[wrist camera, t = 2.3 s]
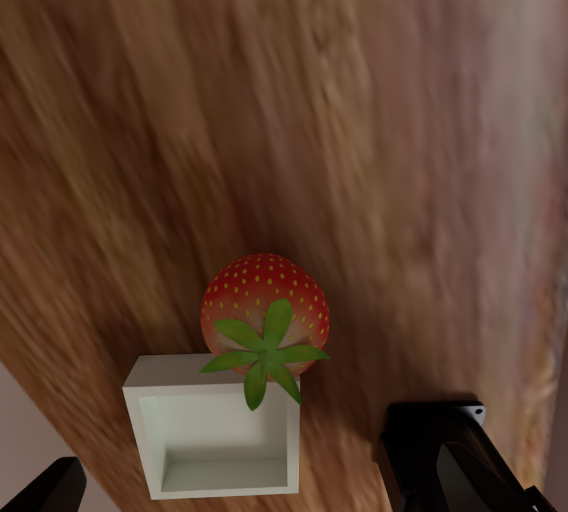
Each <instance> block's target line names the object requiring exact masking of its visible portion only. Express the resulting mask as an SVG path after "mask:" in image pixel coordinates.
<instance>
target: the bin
mask: <svg viewBox="0 0 568 512" xmlns="http://www.w3.org/2000/svg"><path fill="white" fill-rule="evenodd" d="M214 358H216V356H215V355H214V354H213V353H209V354H177V355H145V356H139V358H138V359H137V361H136V363H135V365H134V367H133V369H132V370H131V372H130V374H129V376H128V378H127V380H126V381H125V383H124V385H123V387H122V389H123V393H124V396H125V400H126V404H127V408H128V412H129V415H130V419H131V423H132V427H133V431H134V434H135V438H136V442H137V446H138V450H139V453H140V457H141V461H142V465H143V469H144V472H145V476H146V480H147V484H148V488H149V491H150V495H151V499H152V500H155V499H177V498H199V497H221V496H243V495H265V494H287V493H298V486H299V422H300V405H299V404H298V403H297V402H296V401H295V400H294V399H293V398H292V397H291V396H290V395H289V394H288V393H287V392H286V391H285V390H284V389H283V388H282V387H281V386H280V385H279V384H278V383H277V382H276V381H267V385H266V391H265V395H264V398H263V400H262V402H261V404H260V406H259V407H258V408H257V409H255V410H254V411H251V410H250V409H249V408H248V406H247V404H246V399H245V394H244V379H245V377H246V376H245V375H242V374H240V373H237V372H236V371H234V370H232V369H229V370H224V371H218V372H209V373H199V372H200V371H201V370H202V369H203V368H204V367H205V366H206V365H207V364H208V363H209V362H210V361H211V360H212V359H214ZM294 379H295V381H296V383H297V385H298V388H299V392H300V376H299V375H298V376H297V377H294Z"/></svg>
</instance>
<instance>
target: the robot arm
mask: <svg viewBox="0 0 568 512" xmlns="http://www.w3.org/2000/svg"><path fill="white" fill-rule="evenodd" d="M485 413H486V408H485V406H484V405H483V404H482V402H480V401H463V402H436V403H409V404H393V405H390V406H389V407H388V409H387V413H386V419H385V426H384V432H382V433H381V435H380V439H379V446H378V453H377V462H378V467H379V470H380V473H381V475H382V478H383V481H384V485H385V488H386V491H387V494H388V498H389V501H390V504H391V507H392V510H393V512H557V510H556V509H555V508H554V507H553V506H552V505H551V503H549V501H548V500H547V499H546V498H545V497H544V496H543V494H542V493H541V492H540V491H539V490H538V489H537V488H536V486H535V485H533V486H531V487H529V488H527V489H525V490H524V489H523V487H522V486H521V485H520V483H519V482H518V480H517V479H516V477H515V476H514V474H513V473H512V471H511V470H510V468H509V467H508V465H507V464H506V462H505V461H504V460H503V458H502V457H501V455H500V454H499V452H498V451H497V449H496V448H495V446H494V445H493V443H492V442H491V440H490V439H489V437H488V436H487V434H486V433H485V432H484V430H483V429H482V427H481V426H482V423H483V420H484V416H485ZM86 480H87V479H86V475H85V472H84V470H83V467H82V464H81V461H80V459H79V458H78V457H62V458H59V459H57V460H56V461H55V462H53V463H52V464H51V465H50V466H49V467H48V468H47V469H46V470H45V471H43V472H42V473H41V474H40V475H39V476H38V477H36V478H35V479H34V480H33V481H32V482H31V483H30V484H29V485H27V486H26V487H25V488H24V489H23V490H22V491H21V492H19V493H18V494H17V495H16V496H15V497H14V498H13V499H12V500H10V501H9V502H8V503H7V504H6V505H5V506H4V507H3V508H1V509H0V512H78V509H79V506H80V503H81V500H82V497H83V494H84V492H85V488H86V483H87V481H86ZM525 491H526V492H525Z"/></svg>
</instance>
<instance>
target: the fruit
mask: <svg viewBox="0 0 568 512" xmlns="http://www.w3.org/2000/svg"><path fill="white" fill-rule="evenodd" d="M200 321H201V330H202V333H203V337H204V339H205V342H206V345H207V346H208V348H209V349H210V351H211V352H212V353H213V354H214V355H215V356H216V358H214V359H212V360H211V361H210V362H209V363H208V364H207V365H206V366H205V367H204V368H203V369H202V370H201V371H200V372H199V373H209V372H218V371H224V370H229V369H232V370H234V371H236V372H237V373H240V374H242V375H245V376H246V377H245V379H244V394H245V399H246V404H247V406H248V408H249V409H250V410H251V411H254V410H255V409H257V408H258V407H259V406H260V404H261V402H262V400H263V398H264V395H265V391H266V385H267V381H276V382H277V383H278V384H279V385H280V386H281V387H282V388H283V389H284V390H285V391H286V392H287V393H288V394H289V395H290V396H291V397H292V398H293V399H294V400H295V401H296V402H297V403H298V404H299V405H300V406H302V401H301V396H300V392H299V388H298V385H297V383H296V381H295V379H294V377H297V376H298V375H300V374H301V373H303V372H304V371H306V370H307V369H308V368H309V367H310V366H311V365H312V364H313V363H314V362H315V360H317V359H330V357H329V356H328V355H327V354H326V353H324V352H323V351H322V349H323V347H324V345H325V343H326V341H327V339H328V334H329V329H330V316H329V308H328V304H327V301H326V298H325V295H324V293H323V291H322V289H321V288H320V287H319V285H318V284H317V283H316V281H315V280H314V279H313V278H312V277H311V276H310V275H309V274H308V273H307V272H305V271H304V270H303V269H302V268H300V267H299V266H298V265H296V264H295V263H293V262H291V261H290V260H288V259H286V258H285V257H282V256H280V255H277V254H273V253H255V254H251V255H246V256H244V257H241V258H239V259H236V260H235V261H233V262H231V263H230V264H228V265H227V266H225V267H224V268H223V269H221V270H220V271H219V273H218V274H217V275H216V276H215V277H214V278H213V279H212V280H211V282H210V284H209V285H208V287H207V290H206V292H205V294H204V296H203V300H202V306H201V312H200Z"/></svg>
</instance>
